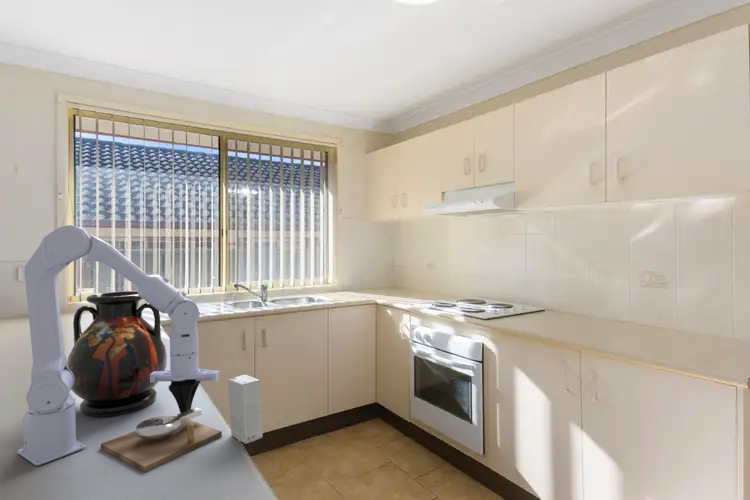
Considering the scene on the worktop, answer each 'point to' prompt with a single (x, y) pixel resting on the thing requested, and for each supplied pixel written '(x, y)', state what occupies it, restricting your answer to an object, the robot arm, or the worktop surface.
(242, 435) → the skincare box
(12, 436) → the worktop surface
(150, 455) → the base board
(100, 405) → the amphora vase
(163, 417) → the silver disc with handle
